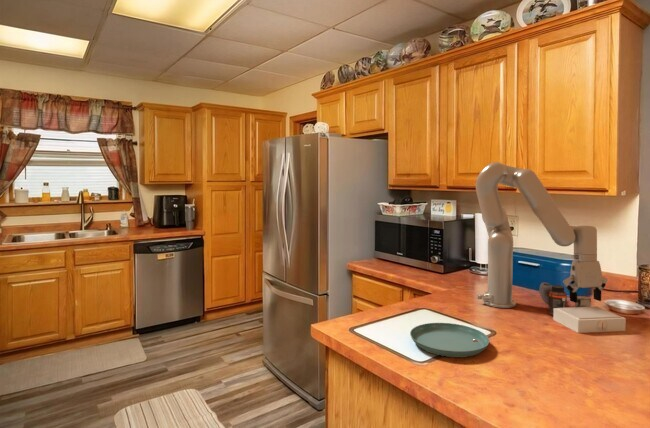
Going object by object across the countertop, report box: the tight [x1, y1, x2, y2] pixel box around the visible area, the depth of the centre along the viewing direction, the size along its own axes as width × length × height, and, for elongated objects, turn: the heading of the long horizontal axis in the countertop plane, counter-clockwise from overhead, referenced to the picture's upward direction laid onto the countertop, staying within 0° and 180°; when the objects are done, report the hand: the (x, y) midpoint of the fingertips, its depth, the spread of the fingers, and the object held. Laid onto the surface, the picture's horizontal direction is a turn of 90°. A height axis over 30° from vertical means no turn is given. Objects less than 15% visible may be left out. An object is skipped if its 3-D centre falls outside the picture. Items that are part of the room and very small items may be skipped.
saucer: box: [410, 322, 490, 358], centre depth 124 cm, size 24×24×3 cm
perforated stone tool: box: [538, 281, 553, 305], centre depth 167 cm, size 15×5×7 cm, turn 158°
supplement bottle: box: [548, 284, 568, 316], centre depth 150 cm, size 6×6×11 cm
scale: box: [552, 306, 627, 334], centre depth 139 cm, size 17×13×5 cm
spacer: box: [574, 295, 592, 307], centre depth 152 cm, size 5×5×6 cm
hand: (585, 300), depth 151 cm, fingers open, 9 cm apart
